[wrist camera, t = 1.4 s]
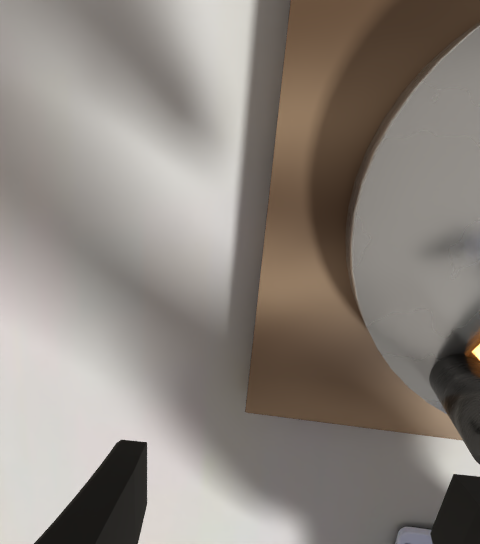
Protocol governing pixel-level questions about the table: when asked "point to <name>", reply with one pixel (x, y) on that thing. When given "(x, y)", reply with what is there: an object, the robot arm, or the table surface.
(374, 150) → the dial
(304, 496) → the table surface
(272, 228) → the stand
